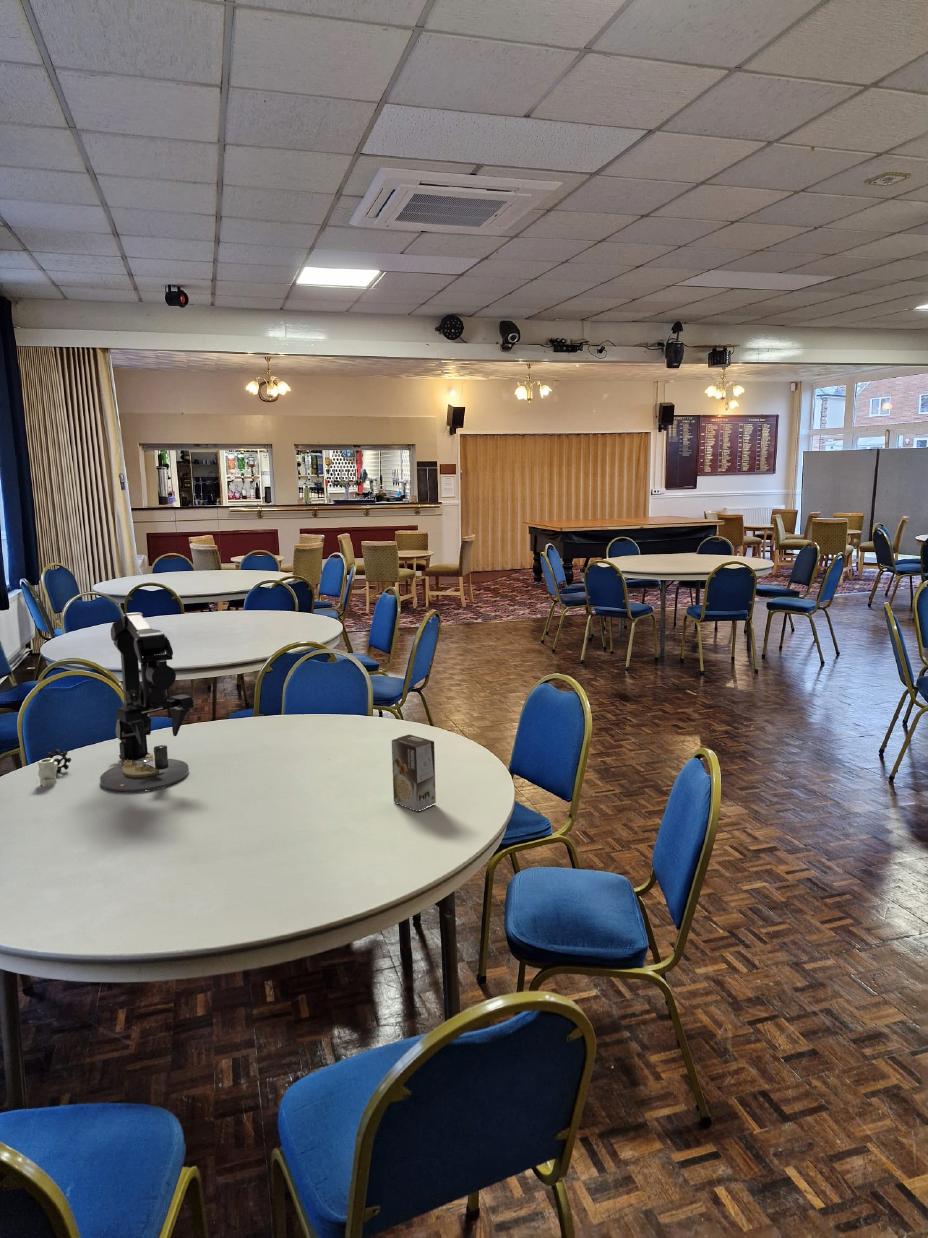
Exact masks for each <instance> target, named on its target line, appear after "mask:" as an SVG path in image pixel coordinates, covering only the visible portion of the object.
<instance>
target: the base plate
mask: <svg viewBox="0 0 928 1238" xmlns="http://www.w3.org/2000/svg"><path fill="white" fill-rule="evenodd" d="M123 766H124V763H122V764H119V765H116V766H114V767H111V768H110V769H108V770H106V771H104V772H103V773H102V774H101V775H100V777H99V781H100V786H101V788H102V789H104V790H106V791H109V790H110V791H109V792H115V793H125V792H128V793H141V792H140V791H143V792H146V791H145V790H150V791H153V790H154V789H155V790H159V789H158V788H160V789H163V787H164V788H167V787H170V786H173V785H175V784H177V783H179V782H182V781H183V780H185V779H186V778H187V777H188V775H189V773H190V772H189V771H190V770H189V764H188V763H187V762H185V761H183V760H180V759H176V758H168V768H167V772H163V773H160V774H157V775H154V776H149V777H142V778H131V777H126V776H124V775H123V770H122V767H123ZM169 785H170V786H169Z"/></svg>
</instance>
